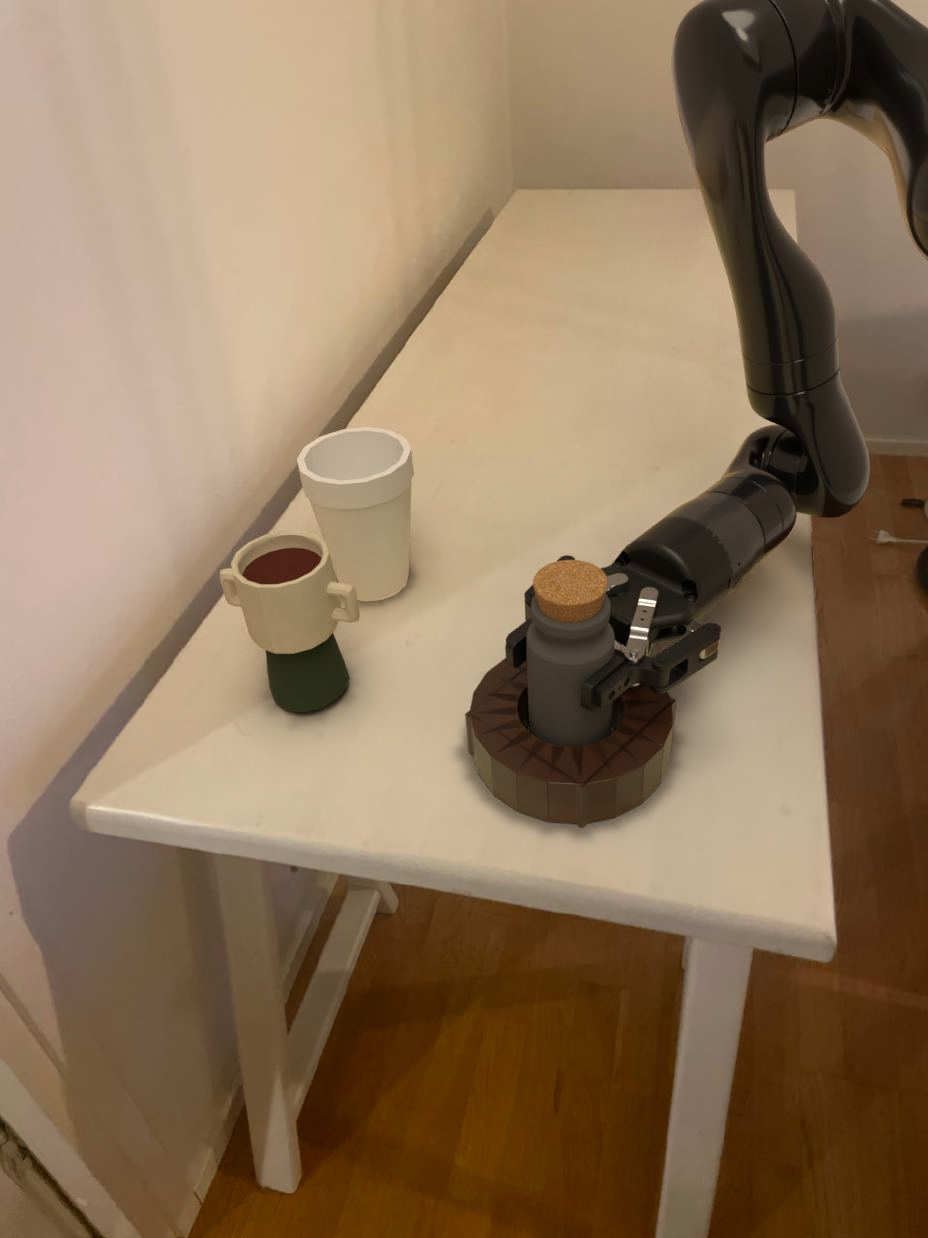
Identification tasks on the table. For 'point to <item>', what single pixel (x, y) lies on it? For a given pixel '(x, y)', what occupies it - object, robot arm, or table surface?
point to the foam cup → (362, 506)
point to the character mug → (293, 614)
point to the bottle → (568, 652)
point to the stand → (568, 752)
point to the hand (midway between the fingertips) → (547, 677)
